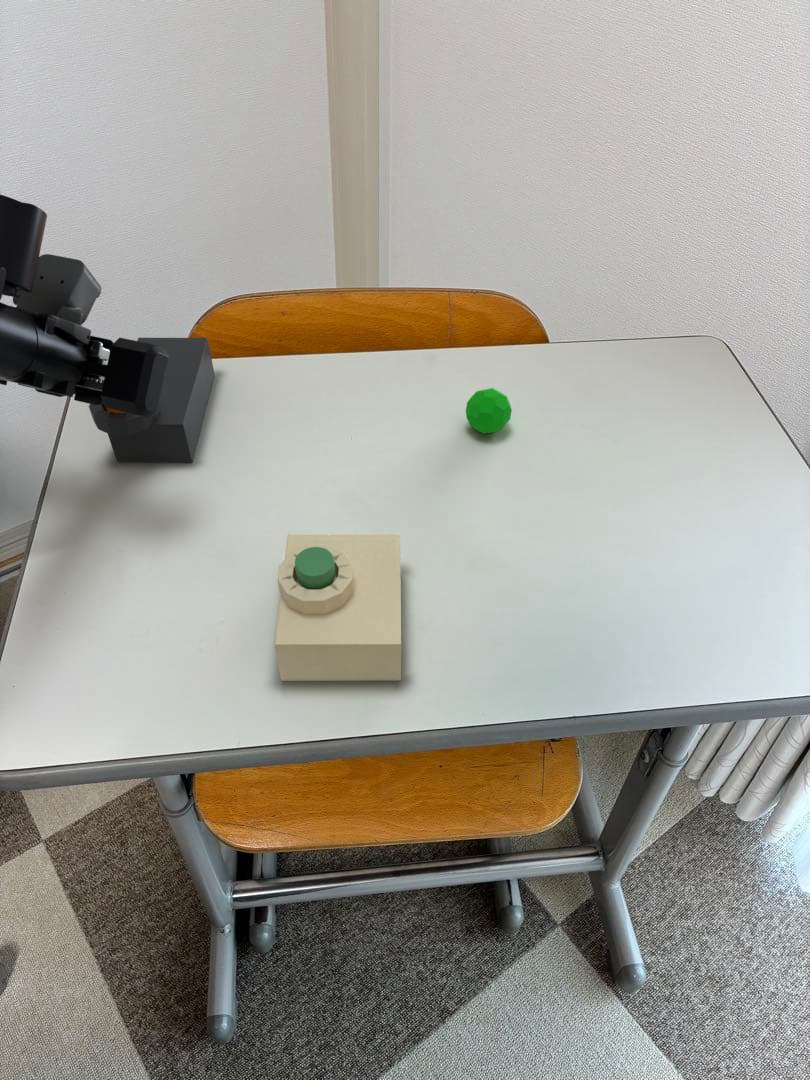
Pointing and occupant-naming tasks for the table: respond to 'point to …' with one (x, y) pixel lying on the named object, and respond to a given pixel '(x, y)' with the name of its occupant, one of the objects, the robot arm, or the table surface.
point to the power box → (342, 612)
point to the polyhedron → (488, 410)
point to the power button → (315, 568)
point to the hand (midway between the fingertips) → (116, 380)
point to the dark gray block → (165, 408)
